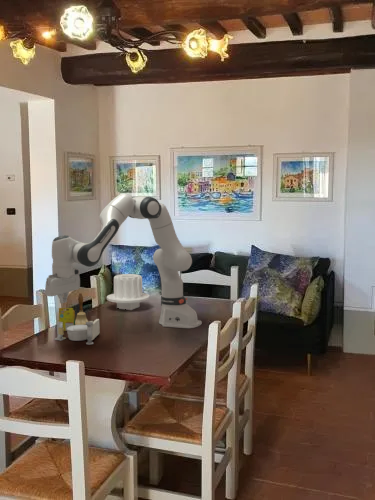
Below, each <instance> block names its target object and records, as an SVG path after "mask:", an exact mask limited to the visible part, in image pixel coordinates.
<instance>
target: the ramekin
mask: <svg viewBox="0 0 375 500" xmlns="http://www.w3.org/2000/svg"><path fill="white" fill-rule="evenodd" d="M66 330H67V331H66V332H67V337H68V340H70V341H73V342H80V341H82V342H83V341H85V340H87V325H73V326H70V327H67V329H66Z"/></svg>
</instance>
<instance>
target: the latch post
mask: <svg viewBox="0 0 375 500" xmlns="http://www.w3.org/2000/svg"><path fill="white" fill-rule="evenodd" d="M56 333H57V337H55V338H54V339H53V341H55V340H56V341H63V340H65V339H67V337H65V336H64V335H65V331H64V328H63V322H59V321H57V322H56Z"/></svg>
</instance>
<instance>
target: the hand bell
mask: <svg viewBox="0 0 375 500" xmlns="http://www.w3.org/2000/svg"><path fill="white" fill-rule="evenodd" d="M77 300H78V304H79V306H78V307H79V312H76V313H77V314H76V317H75V325H86V322H90V320H88V318H87V314H86V312H84V309H83V303H84V297H83V293H82V292H81V293H80V292H79V293H78V298H77Z"/></svg>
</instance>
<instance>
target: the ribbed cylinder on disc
mask: <svg viewBox="0 0 375 500" xmlns="http://www.w3.org/2000/svg"><path fill="white" fill-rule="evenodd" d="M150 297H151V295H150V294H148V293H144V292H143V276H141V275H140V274H137V273H123V274H116V275H115V276H114V277H113V293H111V294H108V295H107V296H106V300H107V301H108V302H112V303H116V309H117V308H119V309H118V310H125V309H126V311H127V310H128V311H132V310H135V309H138V308H140V307H141V306H140V305H141V304H140V303H142V302H145V301H149V300H150Z"/></svg>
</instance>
